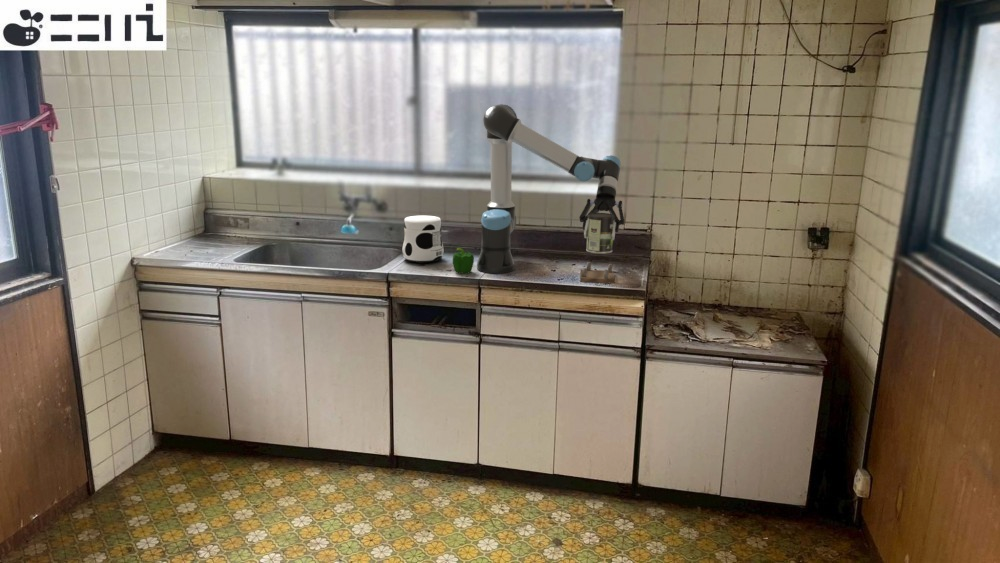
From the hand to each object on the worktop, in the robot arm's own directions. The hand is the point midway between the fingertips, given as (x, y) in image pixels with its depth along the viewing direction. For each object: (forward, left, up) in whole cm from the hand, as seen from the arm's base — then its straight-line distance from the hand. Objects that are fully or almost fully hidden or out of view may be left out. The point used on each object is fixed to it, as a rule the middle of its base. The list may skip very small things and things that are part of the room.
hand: (598, 237), depth 271 cm
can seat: (0, +3, -17) cm, 17 cm away
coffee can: (+1, +3, -6) cm, 7 cm away
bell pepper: (-53, +2, -17) cm, 56 cm away
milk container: (-73, +19, -17) cm, 77 cm away
